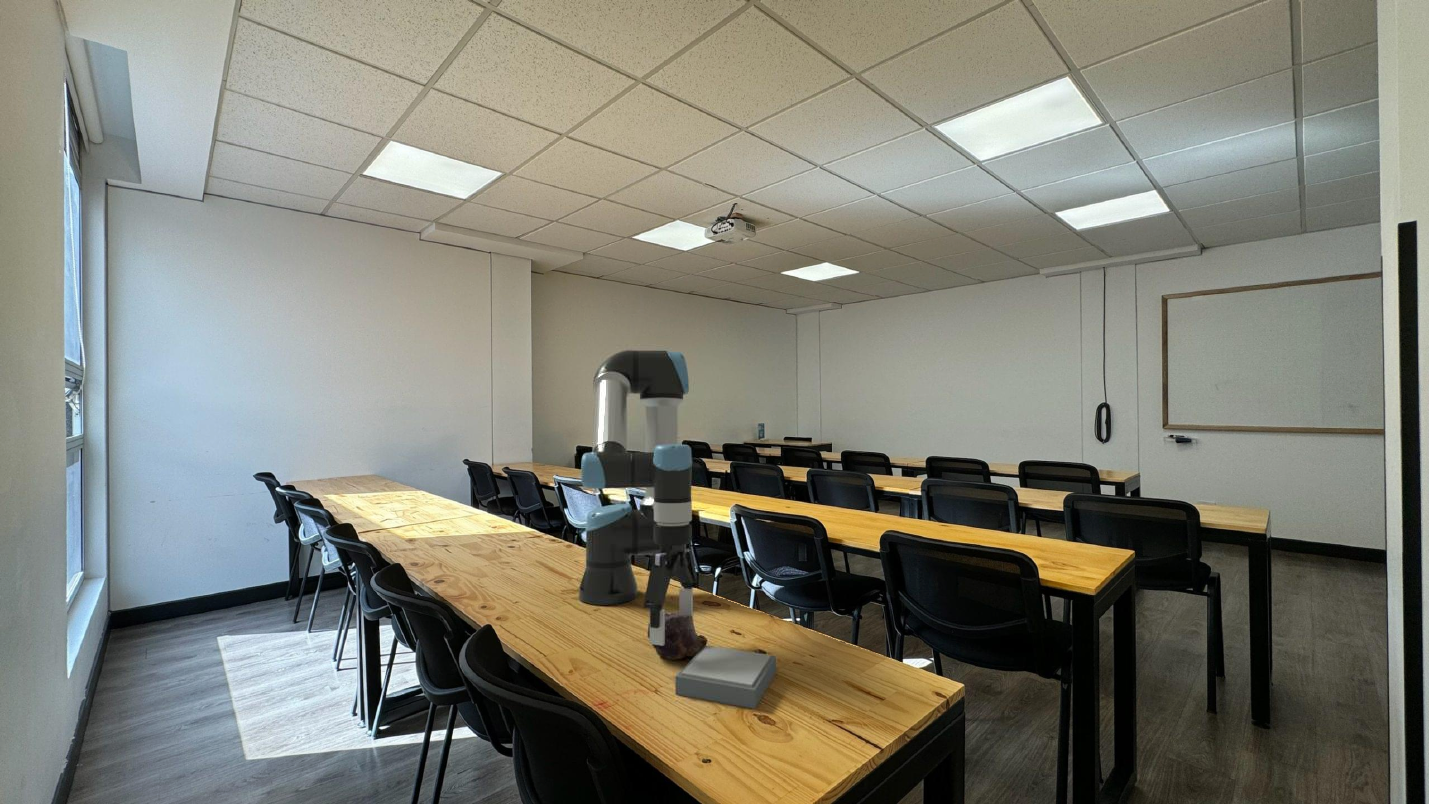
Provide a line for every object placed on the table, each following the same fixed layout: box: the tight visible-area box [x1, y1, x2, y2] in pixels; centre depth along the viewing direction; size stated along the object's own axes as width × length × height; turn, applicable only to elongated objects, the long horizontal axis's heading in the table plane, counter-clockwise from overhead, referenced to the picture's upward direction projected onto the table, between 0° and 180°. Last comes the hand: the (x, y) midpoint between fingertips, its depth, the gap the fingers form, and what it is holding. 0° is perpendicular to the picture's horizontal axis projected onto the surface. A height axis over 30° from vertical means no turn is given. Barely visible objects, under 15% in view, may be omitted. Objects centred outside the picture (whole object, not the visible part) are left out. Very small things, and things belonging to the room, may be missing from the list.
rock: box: [647, 612, 708, 661], centre depth 113 cm, size 12×9×10 cm
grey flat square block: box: [674, 644, 777, 710], centre depth 102 cm, size 14×14×3 cm
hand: (672, 631), depth 113 cm, fingers open, 13 cm apart
